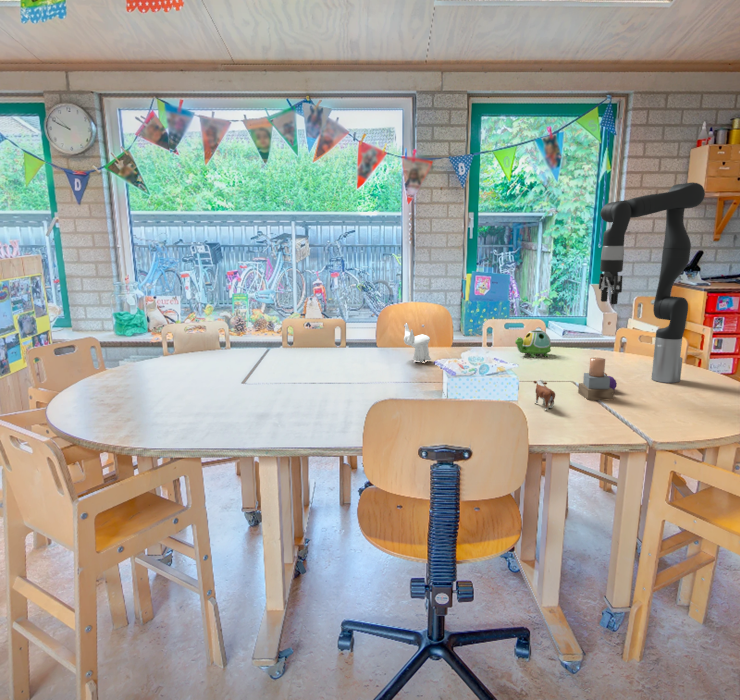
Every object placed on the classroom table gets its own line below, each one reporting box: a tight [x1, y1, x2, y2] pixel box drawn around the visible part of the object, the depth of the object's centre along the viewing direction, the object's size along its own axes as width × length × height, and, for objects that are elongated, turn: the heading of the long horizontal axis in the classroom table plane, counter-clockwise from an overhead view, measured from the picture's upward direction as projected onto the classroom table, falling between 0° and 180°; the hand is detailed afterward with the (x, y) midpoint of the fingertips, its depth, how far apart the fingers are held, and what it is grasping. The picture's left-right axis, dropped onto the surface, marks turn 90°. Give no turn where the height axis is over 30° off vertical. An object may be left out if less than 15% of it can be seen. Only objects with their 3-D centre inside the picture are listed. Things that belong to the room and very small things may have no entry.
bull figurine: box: [533, 379, 556, 411], centre depth 184 cm, size 4×13×8 cm, turn 2°
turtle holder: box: [515, 329, 552, 358], centre depth 262 cm, size 12×18×12 cm
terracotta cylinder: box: [588, 357, 606, 377], centre depth 194 cm, size 5×5×6 cm
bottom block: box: [577, 382, 615, 401], centre depth 196 cm, size 9×9×4 cm
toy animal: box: [403, 322, 432, 363], centre depth 252 cm, size 20×12×17 cm, turn 3°
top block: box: [582, 372, 610, 389], centre depth 195 cm, size 7×7×4 cm
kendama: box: [604, 372, 618, 391], centre depth 208 cm, size 6×6×20 cm
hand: (608, 302), depth 202 cm, fingers open, 8 cm apart
